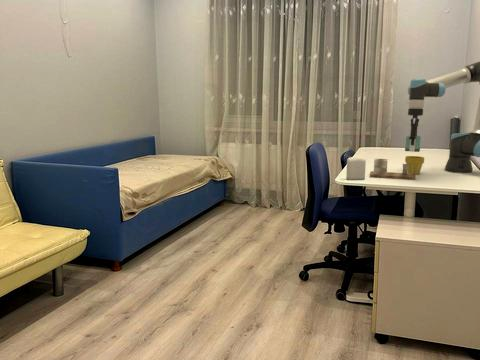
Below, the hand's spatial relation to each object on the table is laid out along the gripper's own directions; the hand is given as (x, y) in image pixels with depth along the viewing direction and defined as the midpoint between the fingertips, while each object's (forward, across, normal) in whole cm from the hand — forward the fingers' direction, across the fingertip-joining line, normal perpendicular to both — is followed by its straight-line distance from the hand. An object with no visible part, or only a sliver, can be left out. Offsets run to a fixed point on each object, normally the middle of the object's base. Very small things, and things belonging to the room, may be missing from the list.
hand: (412, 150), depth 240 cm
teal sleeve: (0, 0, 0) cm, 0 cm away
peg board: (+15, 0, -10) cm, 18 cm away
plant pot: (+16, -18, +1) cm, 24 cm away
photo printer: (+16, +16, -27) cm, 35 cm away
